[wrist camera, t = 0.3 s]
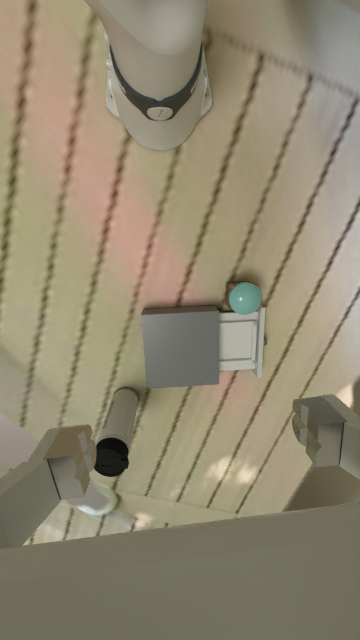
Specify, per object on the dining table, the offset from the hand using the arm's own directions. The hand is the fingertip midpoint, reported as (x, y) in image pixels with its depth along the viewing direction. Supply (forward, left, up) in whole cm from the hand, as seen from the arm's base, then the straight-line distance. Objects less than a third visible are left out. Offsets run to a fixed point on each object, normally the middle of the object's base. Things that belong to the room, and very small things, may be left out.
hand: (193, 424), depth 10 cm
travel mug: (+29, -13, -46) cm, 56 cm away
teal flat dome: (+4, +14, -41) cm, 44 cm away
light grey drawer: (+15, +12, -46) cm, 50 cm away
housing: (+15, +1, -46) cm, 49 cm away
